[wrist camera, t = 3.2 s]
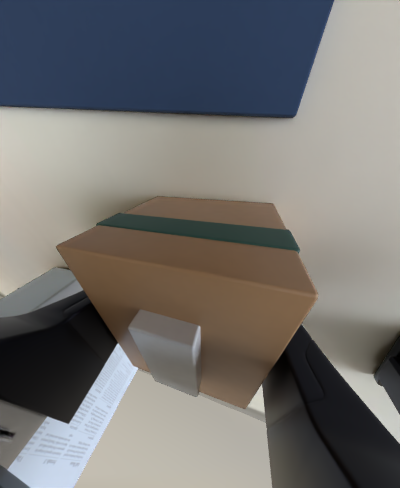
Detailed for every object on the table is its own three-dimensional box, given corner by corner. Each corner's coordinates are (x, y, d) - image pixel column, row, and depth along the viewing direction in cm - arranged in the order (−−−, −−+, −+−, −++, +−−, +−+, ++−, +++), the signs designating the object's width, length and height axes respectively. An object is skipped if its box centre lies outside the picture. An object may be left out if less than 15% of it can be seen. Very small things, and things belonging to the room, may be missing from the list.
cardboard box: (275, 202, 7) (346, 331, 2) (247, 308, 12) (246, 430, 6) (155, 195, 9) (22, 256, 3) (172, 291, 13) (125, 379, 8)
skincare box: (51, 264, 17) (-627, 652, 4) (87, 270, 15) (-837, 948, 2) (119, 350, 28) (5, 526, 15) (144, 359, 26) (41, 563, 13)
